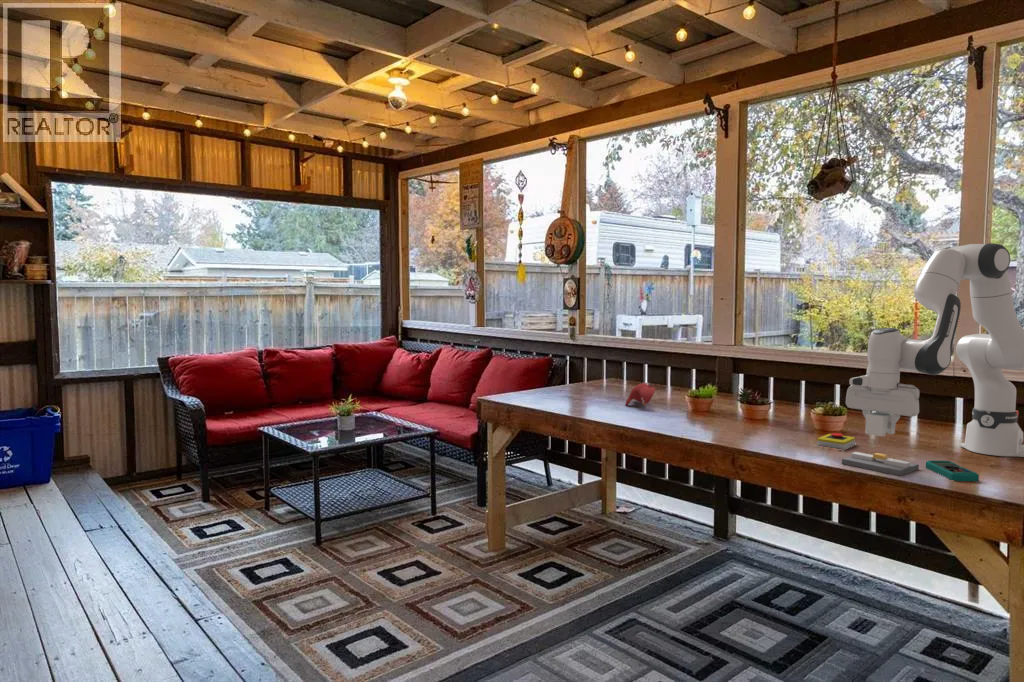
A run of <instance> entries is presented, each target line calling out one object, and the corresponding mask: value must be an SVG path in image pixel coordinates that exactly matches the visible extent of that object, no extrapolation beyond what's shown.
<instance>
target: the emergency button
mask: <svg viewBox="0 0 1024 682" xmlns="http://www.w3.org/2000/svg"><path fill="white" fill-rule="evenodd" d="M816 445H817V446H823V447H830V448H836V449H842V450H845V449H847V448H849V447H851V448H853V447H855V446H857V443H856V438H855V437H854V436H848V435H844V434H842V433H839V432H838V433H837V432H833V433H832V432H831V433H828V434H827V433H826V434H825V435H821V436H820V437H818V438H817V442H816ZM854 445H855V446H854ZM852 446H853V447H852ZM849 449H850V448H849ZM847 450H848V449H847ZM845 451H846V450H845Z"/></svg>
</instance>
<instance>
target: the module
mask: <svg viewBox="0 0 1024 682" xmlns="http://www.w3.org/2000/svg"><path fill="white" fill-rule="evenodd" d="M893 419H894V418H892V414H889V413H882V412H875V411H873V412H870V413H868V414H866V419H865V425H864V426H865V428H864V429H865V431H864V434H866V435H871V436H877V437H886V434H889V435H894V434H895V433H896V428H895V429H889V428H888V423H889V422H892V420H893Z"/></svg>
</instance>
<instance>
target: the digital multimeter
mask: <svg viewBox="0 0 1024 682" xmlns="http://www.w3.org/2000/svg"><path fill="white" fill-rule="evenodd" d="M925 469H927V470H929V469H930V471H931V470H932V472H934V473H936V474H938V473H939V474H938V475H940V474H941V475H940V476H942V475H943V476H942V477H944V476H945V477H944V478H946V477H947V478H946V479H948V478H949V479H948V480H949V481H951V480H955V481H954V482H963V481H974V482H979V479H980V475H979V474H978V473H977V472H975V471H973V470H971V469H968V468H966V467H963V466H962V465H959V464H957V463H955V462H953V461H951V460H928V461H925Z"/></svg>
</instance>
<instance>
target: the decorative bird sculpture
mask: <svg viewBox="0 0 1024 682" xmlns="http://www.w3.org/2000/svg"><path fill="white" fill-rule="evenodd" d="M655 391H656V389H655V387H653V386H651V385H649V384H648V382H642V383H639V384H636V386H633V388H632V389H631V392H630V393H629V395H628V397H627V399H626V401H625V405H624V406H628V405H629V404H630V403H631V402H632V400H635V401H637V402H639V403H642V405H644V406H645V405H648V404H649V402H650V401H651V399H652V397H654V394H655Z"/></svg>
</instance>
